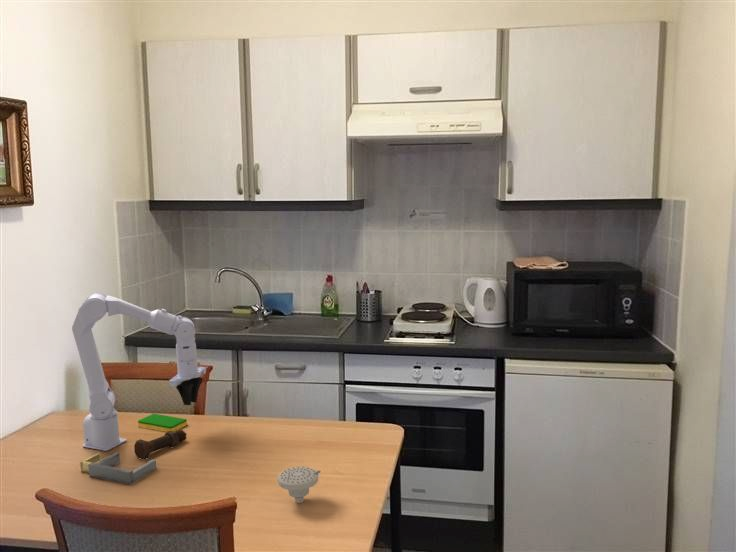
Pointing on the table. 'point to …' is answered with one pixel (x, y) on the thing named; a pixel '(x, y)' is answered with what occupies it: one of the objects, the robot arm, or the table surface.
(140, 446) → the bolt
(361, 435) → the table surface
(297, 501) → the showerhead
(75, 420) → the table surface
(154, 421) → the dish sponge
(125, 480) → the grey u-shaped bracket
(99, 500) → the table surface
